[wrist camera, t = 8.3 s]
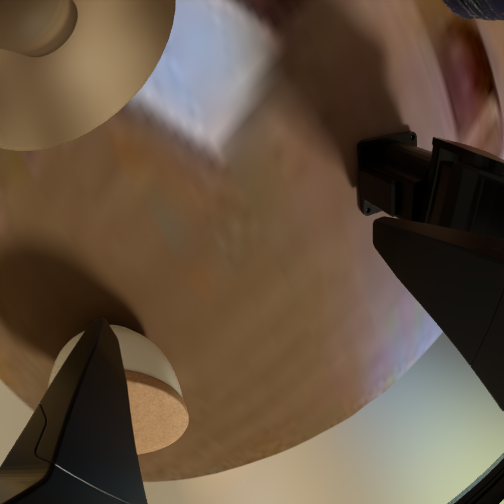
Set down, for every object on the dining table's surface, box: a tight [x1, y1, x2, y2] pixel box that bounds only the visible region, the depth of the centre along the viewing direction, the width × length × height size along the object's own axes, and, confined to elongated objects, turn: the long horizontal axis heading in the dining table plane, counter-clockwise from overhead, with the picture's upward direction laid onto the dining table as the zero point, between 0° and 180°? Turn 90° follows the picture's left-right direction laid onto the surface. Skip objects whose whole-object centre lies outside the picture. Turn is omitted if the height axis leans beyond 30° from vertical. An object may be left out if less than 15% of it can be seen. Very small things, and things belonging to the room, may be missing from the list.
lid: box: [0, 0, 175, 151], centre depth 7 cm, size 12×12×4 cm
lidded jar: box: [48, 325, 189, 454], centre depth 20 cm, size 11×11×9 cm
